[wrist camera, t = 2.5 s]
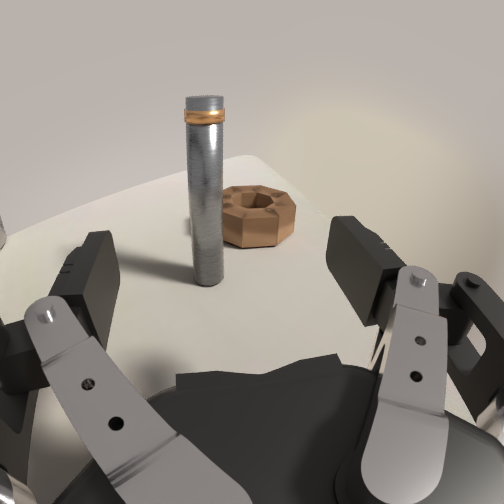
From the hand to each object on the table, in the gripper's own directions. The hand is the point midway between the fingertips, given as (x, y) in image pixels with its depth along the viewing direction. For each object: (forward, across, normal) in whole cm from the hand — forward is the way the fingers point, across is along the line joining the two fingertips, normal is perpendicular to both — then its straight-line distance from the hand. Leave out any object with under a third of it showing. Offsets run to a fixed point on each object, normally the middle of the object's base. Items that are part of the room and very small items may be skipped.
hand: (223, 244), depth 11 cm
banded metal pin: (+12, 0, +10) cm, 15 cm away
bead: (+20, -5, +10) cm, 22 cm away
